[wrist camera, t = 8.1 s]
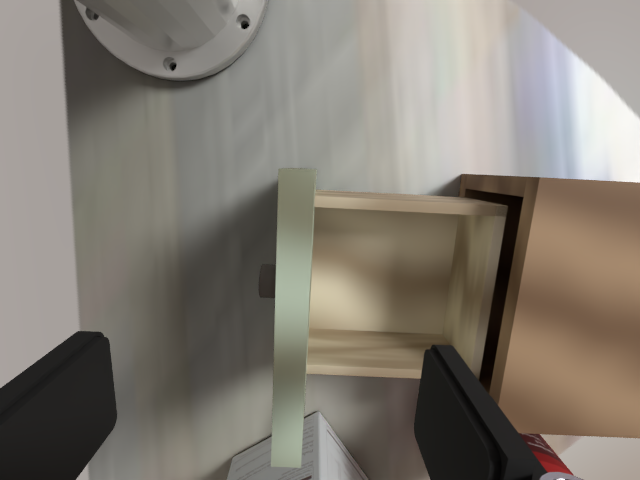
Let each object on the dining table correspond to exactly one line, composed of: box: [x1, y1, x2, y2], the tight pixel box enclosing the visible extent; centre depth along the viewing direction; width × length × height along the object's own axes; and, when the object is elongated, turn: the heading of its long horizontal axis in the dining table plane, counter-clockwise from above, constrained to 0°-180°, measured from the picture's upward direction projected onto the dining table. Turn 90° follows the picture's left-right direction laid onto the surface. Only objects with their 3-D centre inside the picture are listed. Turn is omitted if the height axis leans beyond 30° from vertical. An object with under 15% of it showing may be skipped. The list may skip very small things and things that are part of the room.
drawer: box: [259, 168, 508, 468], centre depth 20 cm, size 14×14×12 cm
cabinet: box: [459, 174, 640, 438], centre depth 22 cm, size 14×12×9 cm
